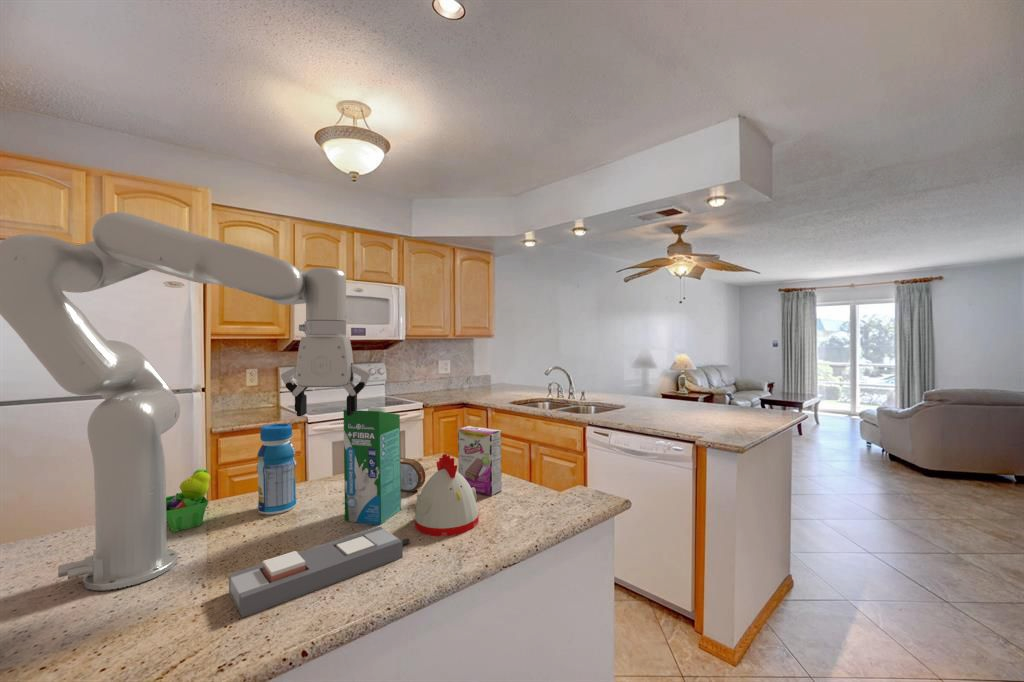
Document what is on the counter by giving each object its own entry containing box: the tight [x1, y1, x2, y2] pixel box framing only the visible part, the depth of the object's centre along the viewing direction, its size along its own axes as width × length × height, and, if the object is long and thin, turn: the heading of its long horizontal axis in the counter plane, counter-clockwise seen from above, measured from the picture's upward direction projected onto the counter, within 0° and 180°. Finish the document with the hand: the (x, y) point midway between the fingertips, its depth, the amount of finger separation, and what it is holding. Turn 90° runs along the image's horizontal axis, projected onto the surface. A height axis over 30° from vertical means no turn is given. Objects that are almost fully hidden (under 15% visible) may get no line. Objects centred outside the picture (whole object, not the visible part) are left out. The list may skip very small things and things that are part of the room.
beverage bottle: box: [256, 423, 297, 516], centre depth 107 cm, size 8×8×20 cm
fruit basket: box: [166, 468, 211, 533], centre depth 100 cm, size 11×9×11 cm
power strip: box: [228, 526, 411, 618], centre depth 78 cm, size 30×9×3 cm, turn 133°
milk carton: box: [342, 406, 402, 526], centre depth 102 cm, size 9×9×25 cm
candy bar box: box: [457, 425, 502, 497], centre depth 118 cm, size 11×5×16 cm, turn 58°
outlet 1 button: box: [262, 550, 305, 583], centre depth 73 cm, size 5×5×2 cm
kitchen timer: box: [414, 453, 480, 537], centre depth 98 cm, size 14×14×15 cm
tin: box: [400, 457, 426, 493], centre depth 120 cm, size 15×3×8 cm, turn 68°
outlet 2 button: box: [336, 536, 375, 557], centre depth 81 cm, size 5×5×2 cm
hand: (326, 415), depth 89 cm, fingers open, 9 cm apart
